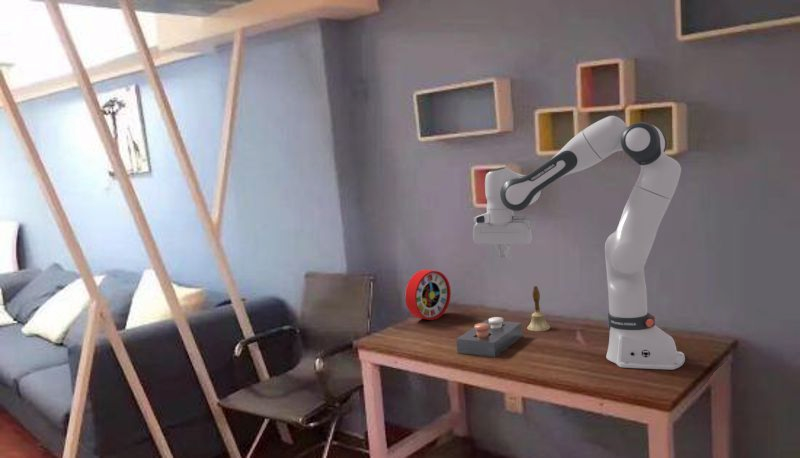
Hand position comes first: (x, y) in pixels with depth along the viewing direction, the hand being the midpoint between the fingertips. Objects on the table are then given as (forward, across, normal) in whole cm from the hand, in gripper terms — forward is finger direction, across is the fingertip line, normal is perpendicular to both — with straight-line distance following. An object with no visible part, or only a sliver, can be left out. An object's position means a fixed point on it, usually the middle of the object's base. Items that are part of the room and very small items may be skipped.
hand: (503, 257), depth 217 cm
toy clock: (+31, +45, -22) cm, 59 cm away
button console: (+31, +7, +1) cm, 32 cm away
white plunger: (+29, +7, -5) cm, 30 cm away
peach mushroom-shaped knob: (+28, +7, +7) cm, 30 cm away
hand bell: (+31, -2, -21) cm, 38 cm away
